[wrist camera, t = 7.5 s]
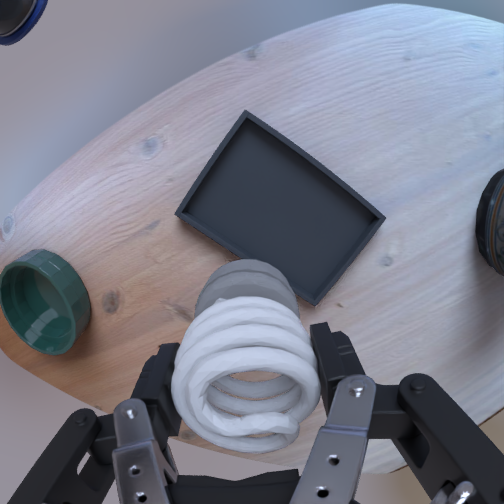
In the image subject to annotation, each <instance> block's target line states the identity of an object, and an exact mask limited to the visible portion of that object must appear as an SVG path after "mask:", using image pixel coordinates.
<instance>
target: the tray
mask: <svg viewBox="0 0 504 504" xmlns="http://www.w3.org/2000/svg"><path fill="white" fill-rule="evenodd" d="M175 215H176V216H178V217H179V218H181V219H182V220H184V221H185V222H187V223H188V224H190V225H191V226H193V227H194V228H196V229H197V230H199V231H200V232H202V233H203V234H205V235H206V236H208V237H209V238H211V239H212V240H214V241H215V242H217V243H218V244H220V245H222V246H223V247H225V248H226V249H228V250H229V251H231V252H232V253H234V254H235V255H237V256H238V257H240V258H241V259H253V260H259V261H262V262H265V263H268V264H270V265H271V266H273V267H275V268H276V269H278V270H279V271H280V272H281V273H282V274H283V275H284V277H285V278H286V279H287V281H288V283H289V285H290V287H291V288H292V290H293V292H294V293H295V294H297V295H298V296H300V297H301V298H303V299H304V300H306V301H308V302H309V303H311V304H312V305H314V306H316V305H317V304H318V303H319V301H320V300H321V299H322V298H323V297H324V296H325V294H326V293H327V292H328V291H329V290H330V289H331V287H332V286H333V285H334V284H335V283H336V281H337V280H338V279H339V278H340V277H341V275H342V274H343V273H344V272H345V270H346V269H347V268H348V267H349V265H350V264H351V263H352V262H353V261H354V259H355V258H356V257H357V256H358V254H359V253H360V252H361V250H362V249H363V248H364V247H365V245H366V244H367V243H368V242H369V240H370V239H371V238H372V236H373V235H374V234H375V232H376V231H377V230H378V229H379V227H380V226H381V225H382V223H383V222H384V221H385V219H386V217H385V216H384V215H383V214H382V213H380V212H379V211H378V210H377V209H376V208H375V207H374V206H372V205H371V204H370V203H369V202H368V201H367V200H365V199H364V198H363V197H362V196H361V195H359V194H358V193H357V192H356V191H355V190H353V189H352V188H351V187H350V186H349V185H347V184H346V183H345V182H344V181H343V180H341V179H340V178H339V177H338V176H336V175H335V174H334V173H333V172H331V171H330V170H329V169H327V168H326V167H325V166H324V165H322V164H321V163H320V162H318V161H317V160H316V159H315V158H313V157H312V156H311V155H309V154H308V153H307V152H305V151H304V150H303V149H301V148H300V147H299V146H297V145H296V144H294V143H293V142H292V141H290V140H289V139H288V138H286V137H285V136H283V135H282V134H281V133H279V132H278V131H276V130H275V129H273V128H272V127H271V126H269V125H268V124H266V123H265V122H263V121H262V120H260V119H259V118H257V117H256V116H254V115H253V114H251V113H250V112H248V111H247V110H244V112H243V113H242V114H241V116H240V117H239V119H238V120H237V121H236V123H235V124H234V125H233V127H232V128H231V130H230V131H229V132H228V134H227V135H226V137H225V138H224V139H223V141H222V142H221V144H220V145H219V147H218V148H217V150H216V151H215V152H214V154H213V155H212V157H211V158H210V160H209V161H208V163H207V164H206V166H205V167H204V169H203V170H202V172H201V173H200V175H199V176H198V178H197V179H196V181H195V182H194V184H193V185H192V187H191V188H190V190H189V191H188V193H187V195H186V196H185V198H184V199H183V201H182V202H181V204H180V206H179V207H178V209H177V210H176V212H175Z"/></svg>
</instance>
